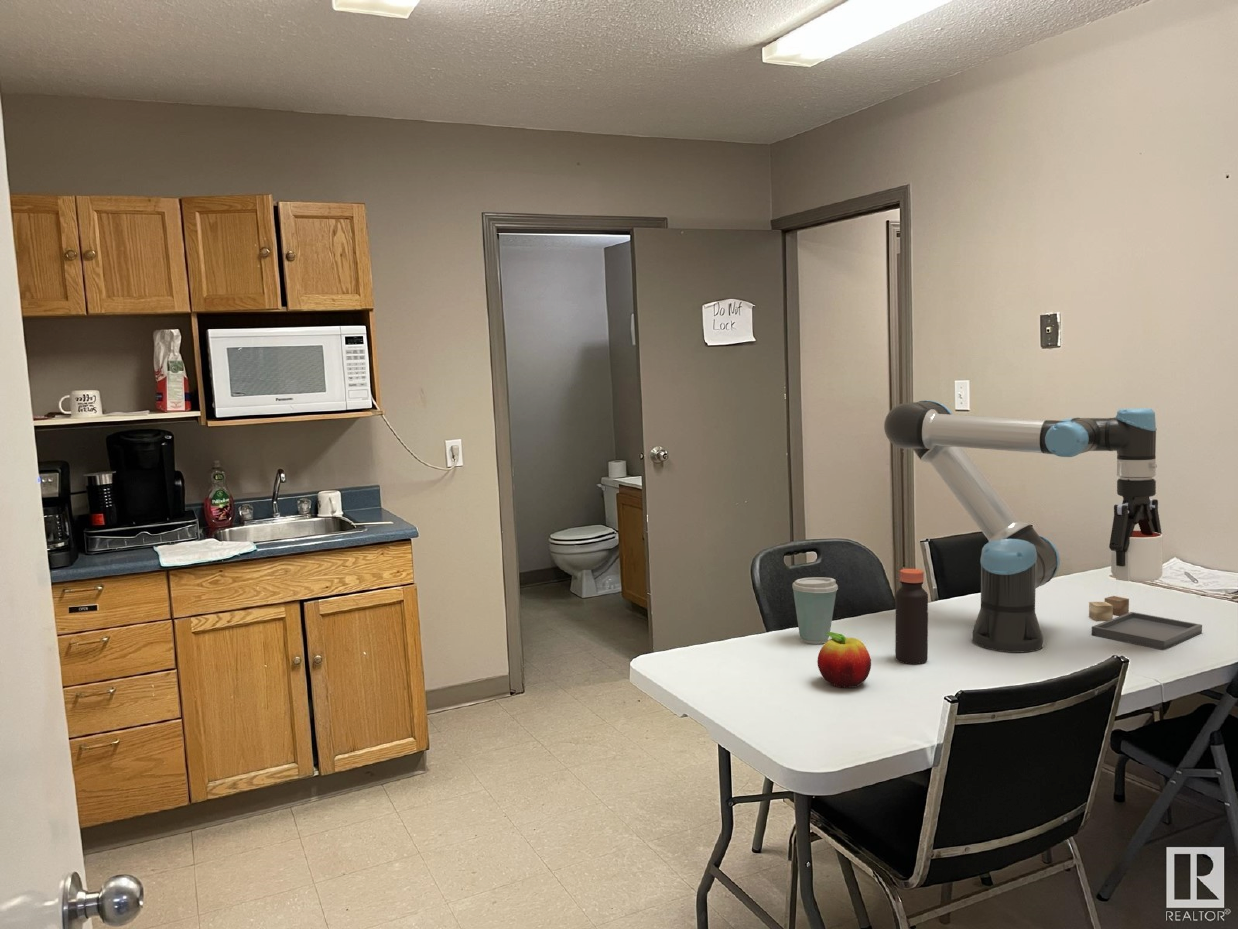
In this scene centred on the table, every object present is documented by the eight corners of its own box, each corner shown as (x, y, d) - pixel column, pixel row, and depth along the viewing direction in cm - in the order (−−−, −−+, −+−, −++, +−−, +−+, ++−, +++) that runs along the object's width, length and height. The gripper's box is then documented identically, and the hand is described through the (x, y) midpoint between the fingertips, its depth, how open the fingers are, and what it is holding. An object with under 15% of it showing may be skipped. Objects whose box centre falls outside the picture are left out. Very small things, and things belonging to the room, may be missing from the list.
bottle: (888, 658, 205) (889, 569, 203) (913, 653, 208) (913, 566, 206) (909, 666, 199) (910, 575, 197) (934, 662, 202) (934, 572, 200)
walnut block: (1119, 616, 234) (1119, 601, 233) (1104, 613, 237) (1104, 598, 237) (1128, 614, 236) (1129, 598, 235) (1113, 611, 239) (1113, 595, 239)
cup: (1168, 583, 200) (1168, 537, 199) (1117, 582, 203) (1117, 537, 202) (1155, 573, 210) (1155, 530, 209) (1106, 573, 213) (1106, 530, 212)
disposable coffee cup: (783, 641, 220) (783, 579, 218) (807, 631, 228) (807, 571, 226) (823, 649, 213) (822, 586, 211) (846, 639, 220) (846, 577, 219)
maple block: (1095, 621, 230) (1096, 605, 229) (1088, 617, 234) (1089, 601, 233) (1112, 621, 229) (1112, 605, 229) (1105, 617, 233) (1105, 601, 233)
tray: (1163, 650, 206) (1164, 641, 205) (1091, 635, 218) (1091, 626, 218) (1201, 633, 218) (1202, 624, 217) (1131, 619, 230) (1131, 611, 230)
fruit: (838, 695, 183) (838, 646, 182) (806, 679, 193) (806, 633, 192) (882, 687, 187) (882, 639, 186) (848, 671, 197) (848, 626, 196)
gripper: (1124, 483, 196) (1125, 587, 197) (1180, 474, 208) (1180, 571, 209) (1090, 481, 202) (1091, 581, 204) (1146, 472, 214) (1146, 567, 216)
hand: (1136, 576), depth 207 cm, fingers closed on cup, 10 cm apart
